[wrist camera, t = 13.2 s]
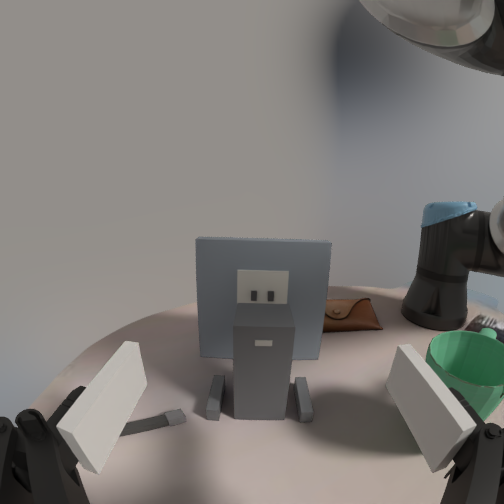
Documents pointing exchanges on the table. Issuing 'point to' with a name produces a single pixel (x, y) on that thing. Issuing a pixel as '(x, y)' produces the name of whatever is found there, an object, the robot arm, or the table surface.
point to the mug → (470, 366)
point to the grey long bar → (154, 422)
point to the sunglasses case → (349, 316)
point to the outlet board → (261, 298)
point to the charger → (262, 360)
